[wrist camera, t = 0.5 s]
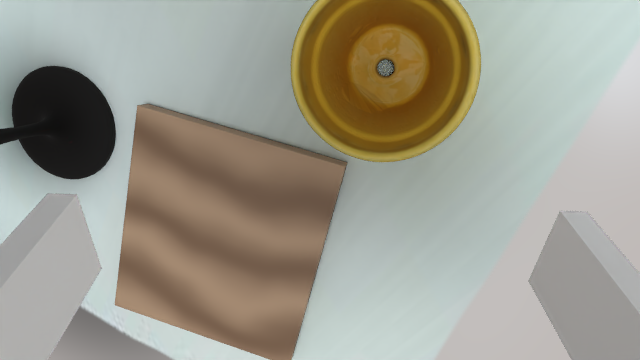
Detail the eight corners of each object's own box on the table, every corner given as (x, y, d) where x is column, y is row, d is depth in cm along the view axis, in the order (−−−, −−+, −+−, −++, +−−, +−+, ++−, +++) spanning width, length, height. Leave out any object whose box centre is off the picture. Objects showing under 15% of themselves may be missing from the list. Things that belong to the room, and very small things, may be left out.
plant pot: (345, 151, 35) (324, 185, 25) (302, 25, 33) (262, 12, 23) (474, 110, 32) (504, 131, 23) (436, -30, 30) (451, -70, 21)
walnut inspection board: (147, 103, 37) (137, 105, 35) (347, 162, 35) (345, 166, 33) (124, 296, 43) (114, 304, 41) (292, 355, 41) (288, 366, 40)
